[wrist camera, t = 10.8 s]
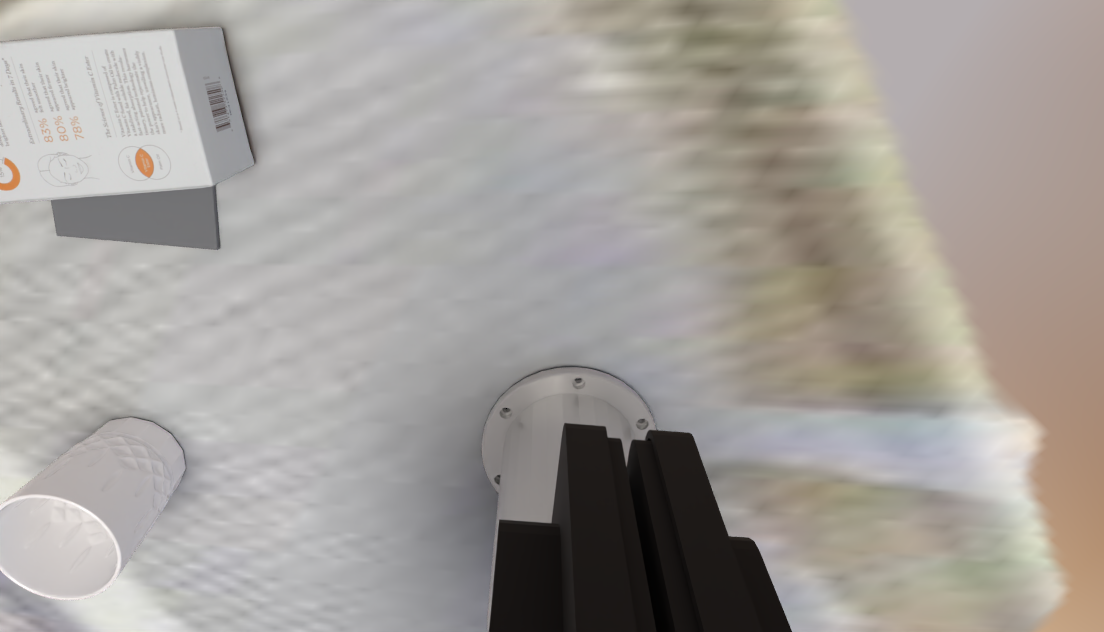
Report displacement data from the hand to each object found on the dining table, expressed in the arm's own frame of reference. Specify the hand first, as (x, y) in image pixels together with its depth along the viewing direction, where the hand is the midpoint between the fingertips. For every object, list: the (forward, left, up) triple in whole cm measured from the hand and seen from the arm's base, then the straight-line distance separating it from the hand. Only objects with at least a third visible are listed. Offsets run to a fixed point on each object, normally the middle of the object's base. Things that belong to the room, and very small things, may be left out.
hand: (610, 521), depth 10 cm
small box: (0, +19, -34) cm, 39 cm away
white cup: (-26, +28, -37) cm, 53 cm away
